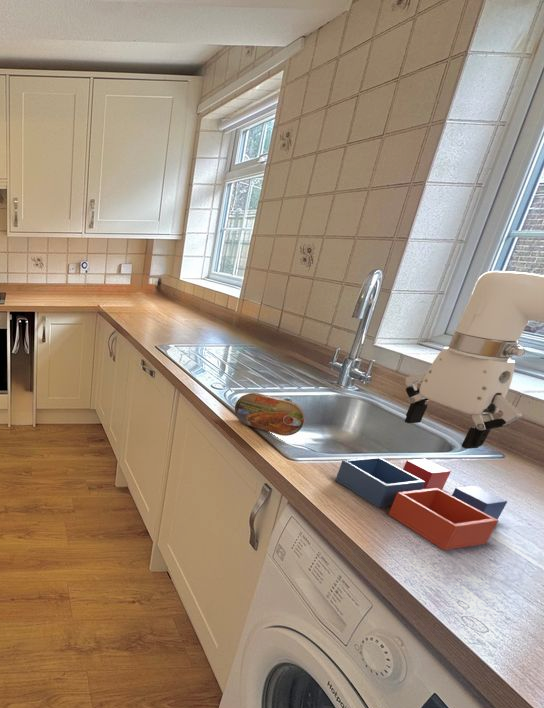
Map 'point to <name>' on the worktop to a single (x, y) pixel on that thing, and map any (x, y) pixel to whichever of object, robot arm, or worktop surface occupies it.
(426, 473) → the red block
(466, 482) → the worktop surface
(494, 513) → the blue block
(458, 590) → the worktop surface
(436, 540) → the red bin
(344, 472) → the blue bin
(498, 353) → the robot arm
